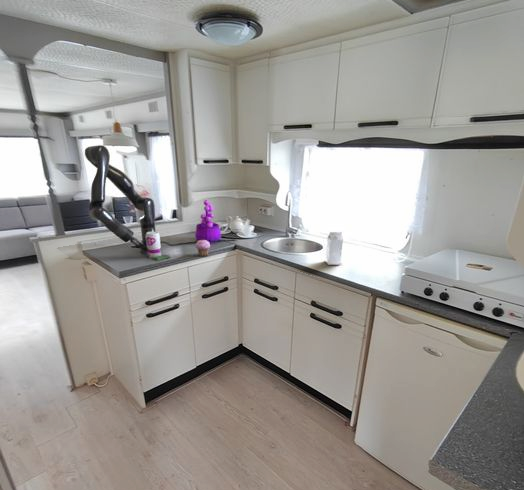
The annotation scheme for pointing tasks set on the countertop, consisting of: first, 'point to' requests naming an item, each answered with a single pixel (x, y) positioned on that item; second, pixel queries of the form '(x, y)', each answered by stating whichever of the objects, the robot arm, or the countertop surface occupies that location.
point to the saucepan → (141, 249)
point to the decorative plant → (207, 226)
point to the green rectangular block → (161, 257)
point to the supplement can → (153, 244)
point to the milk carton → (334, 248)
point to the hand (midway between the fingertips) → (146, 250)
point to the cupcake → (203, 247)
